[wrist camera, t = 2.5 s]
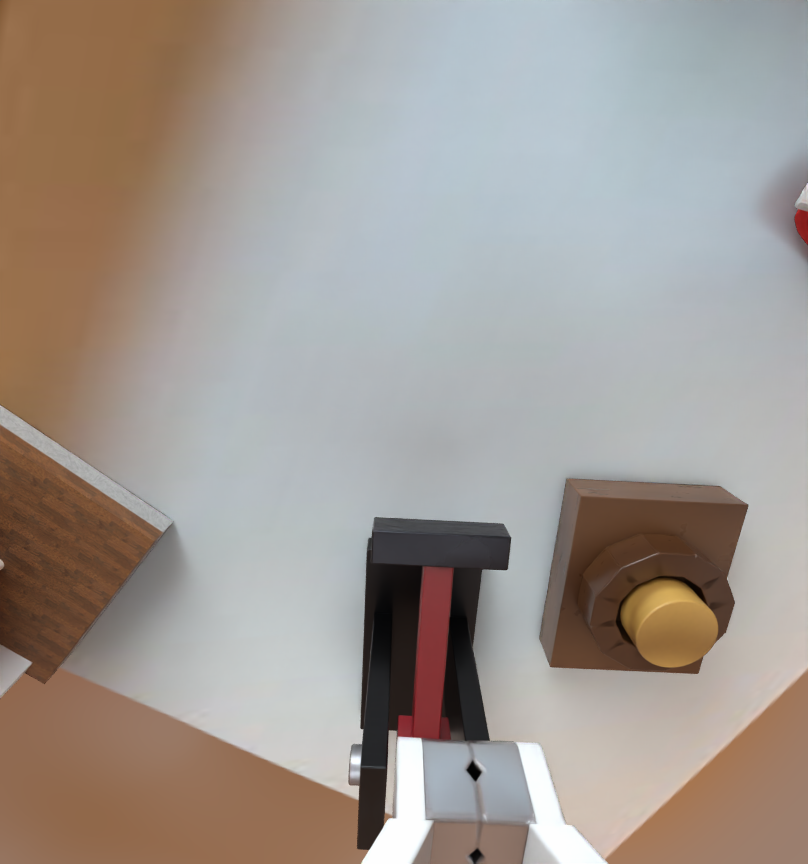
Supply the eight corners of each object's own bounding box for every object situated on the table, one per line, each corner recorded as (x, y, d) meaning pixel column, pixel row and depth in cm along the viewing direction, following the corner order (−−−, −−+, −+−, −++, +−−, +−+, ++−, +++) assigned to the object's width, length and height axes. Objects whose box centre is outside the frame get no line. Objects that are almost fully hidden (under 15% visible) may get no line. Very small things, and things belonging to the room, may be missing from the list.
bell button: (627, 574, 22) (645, 598, 21) (704, 578, 22) (728, 602, 21) (613, 638, 24) (629, 666, 22) (686, 642, 24) (708, 670, 22)
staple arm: (375, 511, 19) (371, 536, 17) (501, 517, 19) (515, 544, 17) (363, 767, 22) (358, 820, 19) (475, 772, 22) (484, 825, 19)
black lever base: (368, 537, 26) (348, 683, 17) (480, 542, 26) (523, 691, 17) (361, 712, 30) (342, 912, 20) (460, 716, 30) (485, 917, 20)
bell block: (566, 478, 25) (595, 514, 21) (720, 485, 25) (777, 523, 21) (538, 638, 28) (560, 695, 24) (676, 644, 28) (719, 702, 24)
